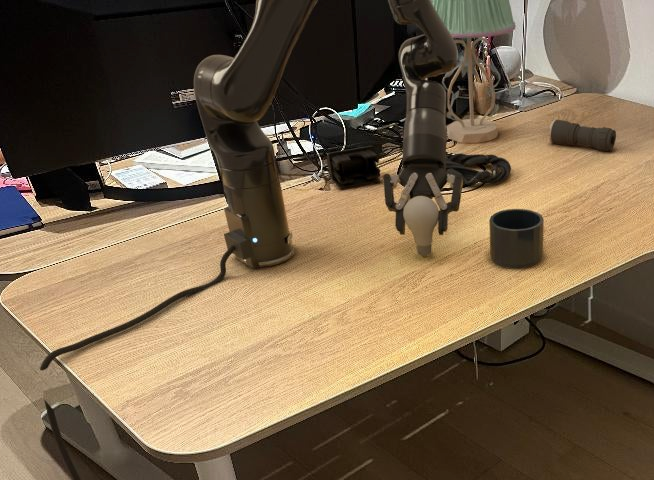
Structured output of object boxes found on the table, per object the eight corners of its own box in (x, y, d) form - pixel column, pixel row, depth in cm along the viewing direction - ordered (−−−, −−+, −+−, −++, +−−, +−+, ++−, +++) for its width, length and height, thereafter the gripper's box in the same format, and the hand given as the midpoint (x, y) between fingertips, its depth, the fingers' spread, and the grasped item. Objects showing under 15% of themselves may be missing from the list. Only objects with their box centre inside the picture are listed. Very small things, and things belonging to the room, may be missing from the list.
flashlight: (617, 148, 178) (618, 125, 174) (608, 155, 174) (610, 131, 171) (557, 139, 183) (558, 116, 180) (548, 145, 180) (549, 122, 176)
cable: (425, 170, 167) (424, 151, 165) (477, 157, 174) (476, 138, 171) (468, 193, 156) (468, 172, 154) (522, 178, 163) (522, 158, 160)
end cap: (373, 172, 167) (369, 141, 163) (383, 182, 162) (379, 151, 158) (329, 179, 164) (324, 149, 160) (338, 190, 159) (333, 159, 155)
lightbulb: (442, 248, 135) (438, 189, 128) (441, 263, 130) (437, 203, 124) (408, 249, 135) (402, 190, 128) (406, 264, 130) (400, 204, 123)
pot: (517, 273, 126) (517, 235, 122) (479, 257, 132) (478, 220, 128) (553, 255, 132) (554, 218, 128) (515, 240, 137) (515, 204, 133)
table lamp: (497, 118, 199) (494, -56, 175) (529, 142, 182) (531, -47, 159) (419, 128, 193) (405, -51, 169) (444, 154, 176) (433, -40, 153)
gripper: (379, 131, 127) (375, 225, 125) (463, 131, 127) (461, 225, 124) (388, 152, 135) (384, 241, 132) (467, 151, 134) (465, 241, 131)
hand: (421, 233), depth 128 cm, fingers closed on lightbulb, 6 cm apart
